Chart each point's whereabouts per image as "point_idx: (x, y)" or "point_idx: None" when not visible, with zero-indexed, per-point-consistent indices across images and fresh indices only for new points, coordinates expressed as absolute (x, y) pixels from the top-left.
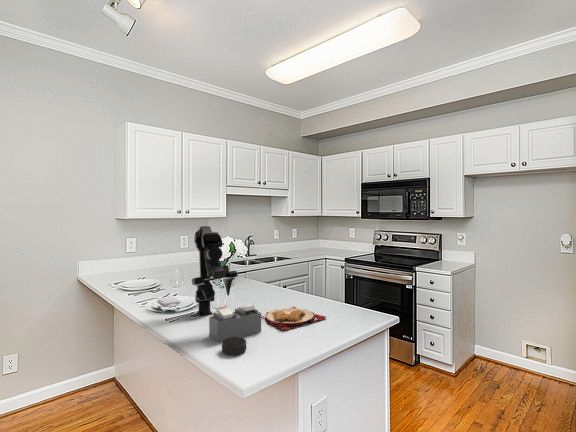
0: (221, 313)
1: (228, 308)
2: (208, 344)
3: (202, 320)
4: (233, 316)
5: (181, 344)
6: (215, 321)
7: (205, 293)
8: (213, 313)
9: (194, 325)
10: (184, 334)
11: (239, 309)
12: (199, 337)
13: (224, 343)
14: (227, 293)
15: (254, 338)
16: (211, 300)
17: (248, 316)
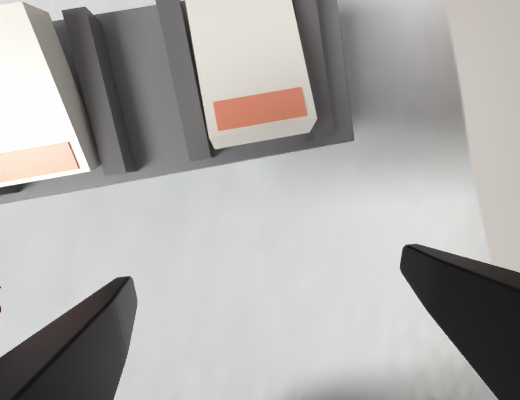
0: (294, 15)
1: (202, 88)
2: (346, 41)
3: (290, 378)
4: (185, 21)
5: (455, 102)
6: (337, 22)
7: (518, 276)
8: (332, 127)
9: (342, 323)
10: (413, 222)
11: (89, 141)
12: (361, 153)
13: None
14: (126, 309)
15: (106, 7)
16: None
17: (55, 25)
